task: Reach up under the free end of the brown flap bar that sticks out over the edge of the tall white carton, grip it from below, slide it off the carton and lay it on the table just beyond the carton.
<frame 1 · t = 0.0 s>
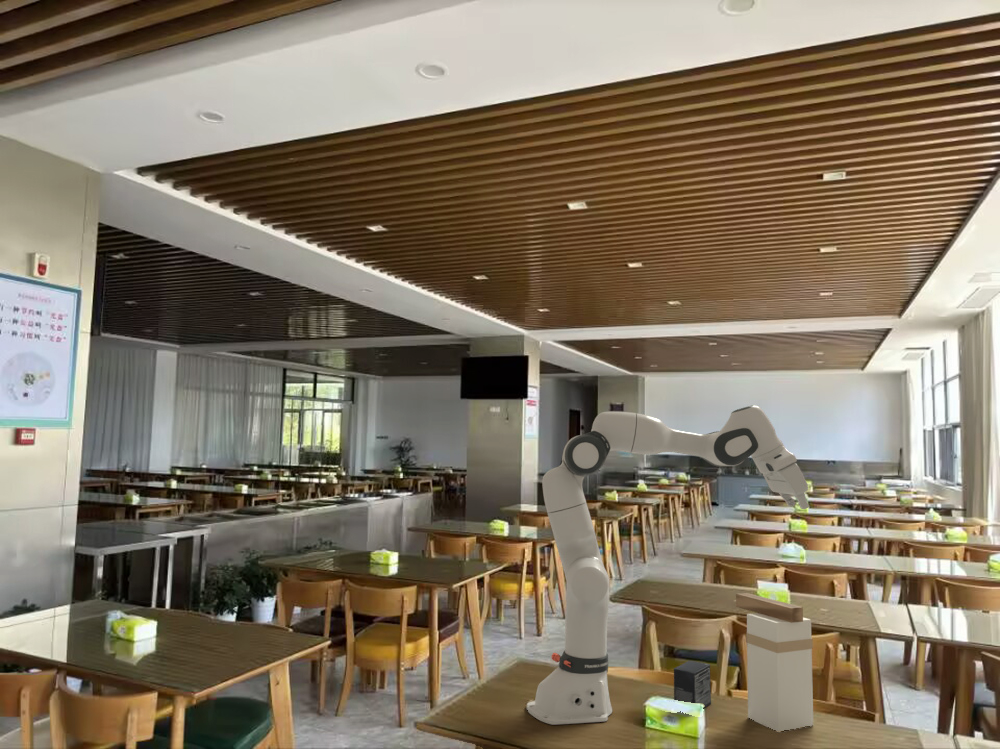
hand: (798, 506, 183), 54 cm above the table, tool tilted 30°, fingers open, 8 cm apart
flap bar: (768, 613, 182), point 26 cm above the table, touching carton
small box: (692, 707, 185), on the table
carton: (780, 721, 176), on the table
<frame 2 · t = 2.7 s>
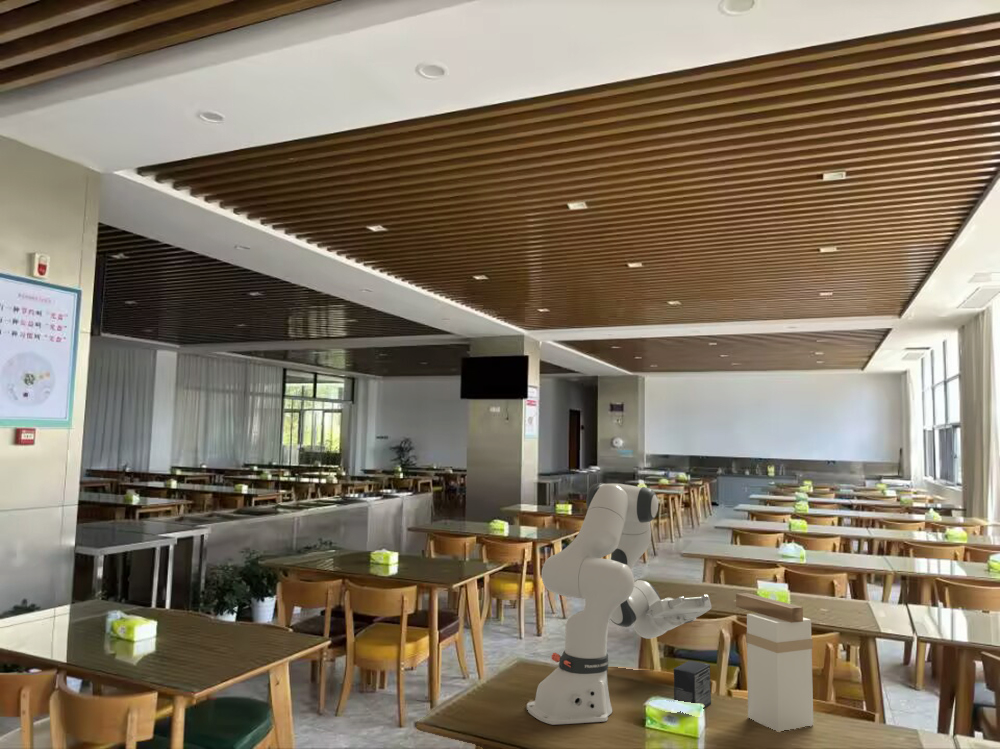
hand: (695, 598, 207), 24 cm above the table, tool pointing upward, fingers open, 8 cm apart
nothing on the table moved.
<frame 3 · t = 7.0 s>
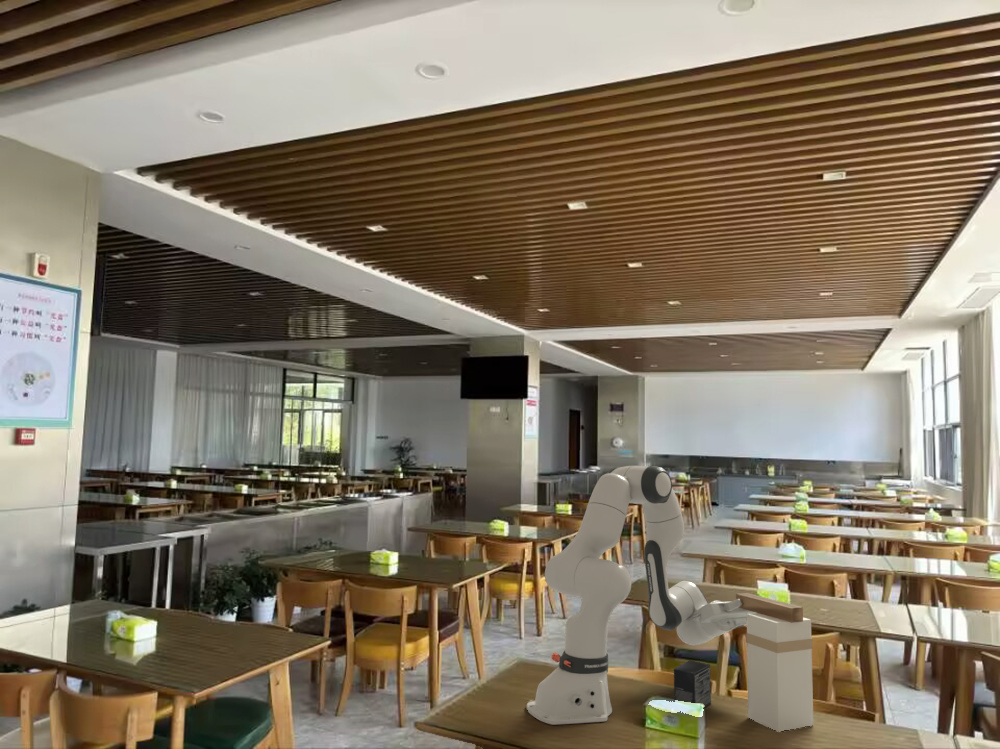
hand: (748, 601, 188), 28 cm above the table, tool pointing upward, fingers closed on flap bar, 4 cm apart
flap bar: (768, 613, 182), point 26 cm above the table, touching carton, gripper
everything else where it was.
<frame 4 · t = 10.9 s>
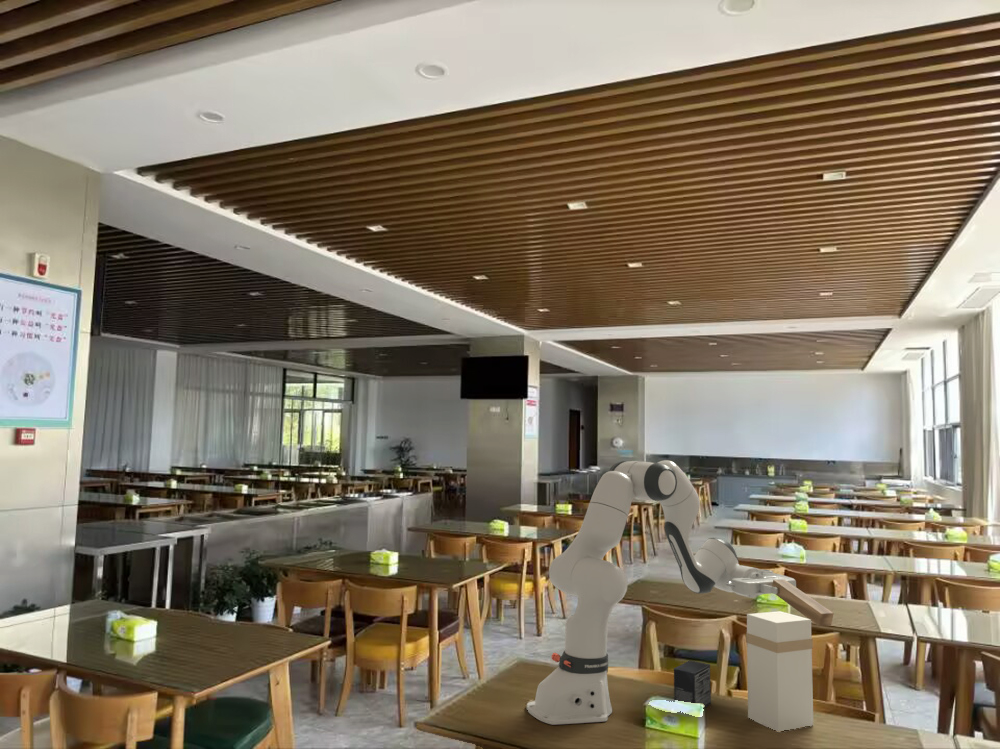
hand: (785, 590, 194), 30 cm above the table, tool horizontal, fingers closed on flap bar, 4 cm apart
flap bar: (799, 607, 189), point 27 cm above the table, tilted 17°, touching gripper
everything else where it was.
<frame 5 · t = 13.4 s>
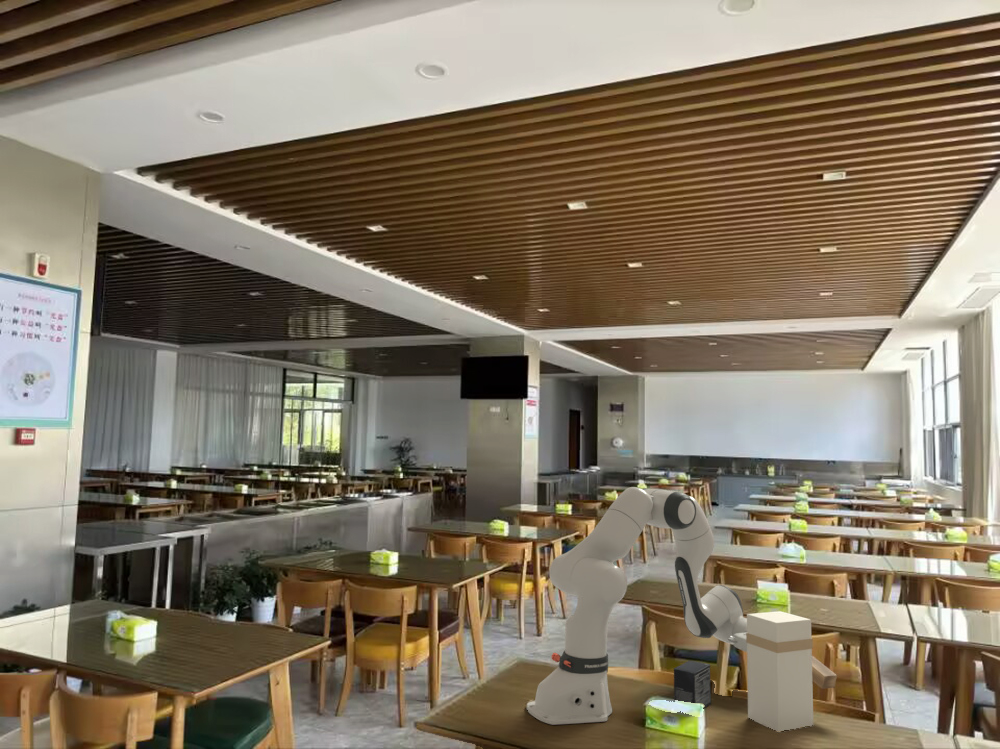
hand: (788, 647, 192), 15 cm above the table, tool horizontal, fingers closed on flap bar, 4 cm apart
flap bar: (802, 666, 187), point 11 cm above the table, tilted 17°, touching gripper
everything else where it was.
when the fingers open (6 cm above the table, at t = 15.3 s): flap bar drops 3 cm, on the table.
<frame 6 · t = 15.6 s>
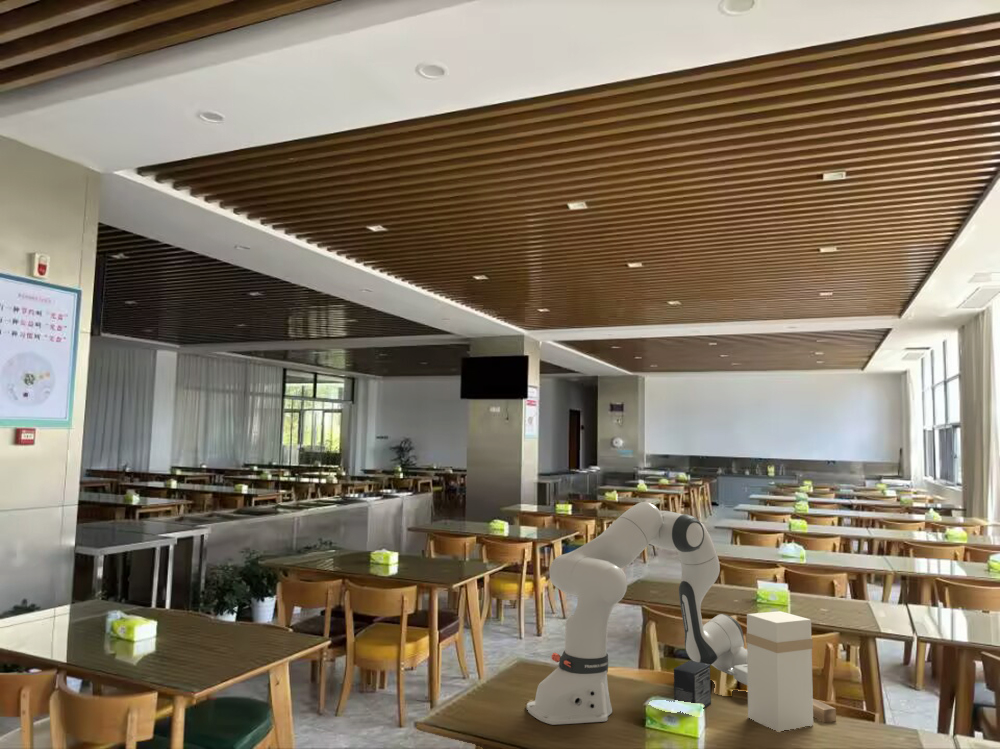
hand: (788, 681, 191), 6 cm above the table, tool horizontal, fingers open, 7 cm apart
flap bar: (802, 710, 186), on the table
everything else where it was.
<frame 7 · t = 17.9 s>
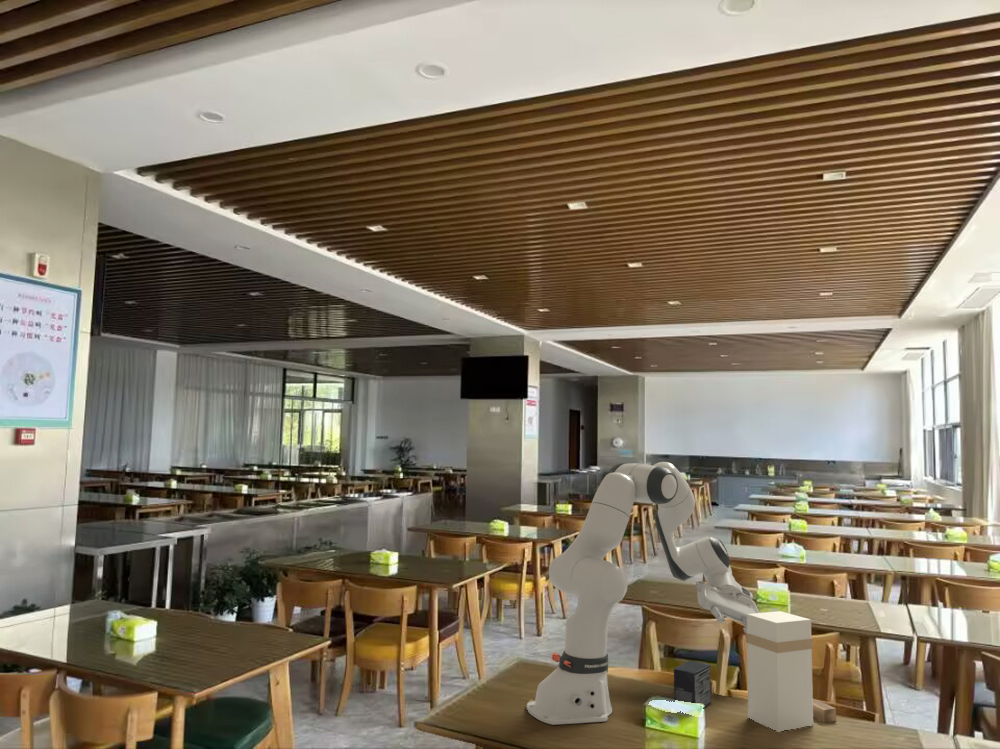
hand: (735, 626, 201), 18 cm above the table, tool tilted 55°, fingers open, 8 cm apart
nothing on the table moved.
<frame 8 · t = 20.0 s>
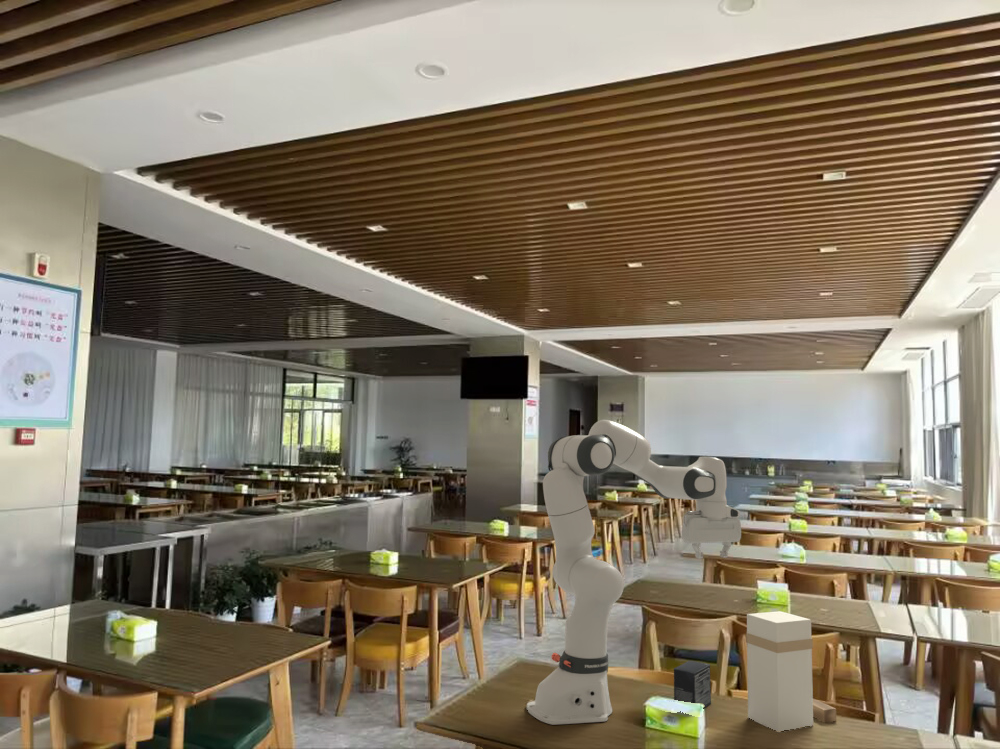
hand: (711, 557, 205), 37 cm above the table, tool pointing down, fingers open, 8 cm apart
nothing on the table moved.
at the end: flap bar inside the target area (0.8 cm from its centre), on the table; flap bar touching table; the gripper is holding nothing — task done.
